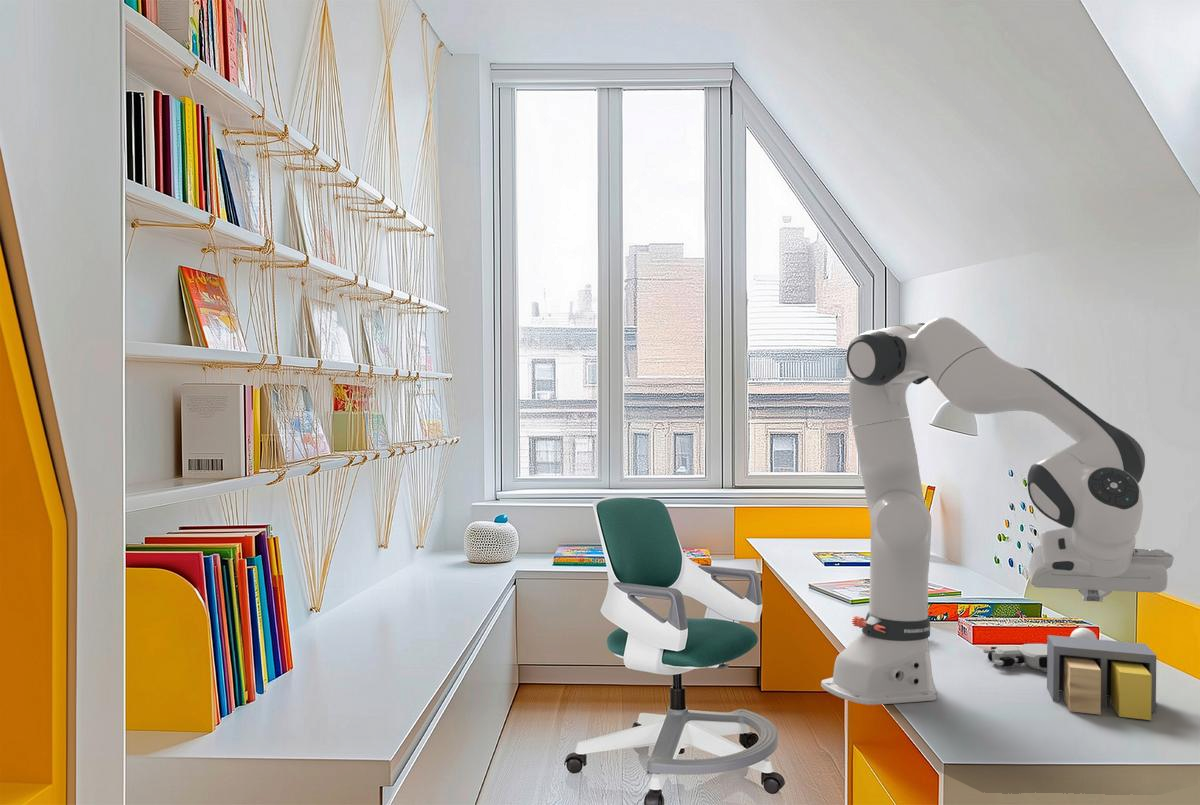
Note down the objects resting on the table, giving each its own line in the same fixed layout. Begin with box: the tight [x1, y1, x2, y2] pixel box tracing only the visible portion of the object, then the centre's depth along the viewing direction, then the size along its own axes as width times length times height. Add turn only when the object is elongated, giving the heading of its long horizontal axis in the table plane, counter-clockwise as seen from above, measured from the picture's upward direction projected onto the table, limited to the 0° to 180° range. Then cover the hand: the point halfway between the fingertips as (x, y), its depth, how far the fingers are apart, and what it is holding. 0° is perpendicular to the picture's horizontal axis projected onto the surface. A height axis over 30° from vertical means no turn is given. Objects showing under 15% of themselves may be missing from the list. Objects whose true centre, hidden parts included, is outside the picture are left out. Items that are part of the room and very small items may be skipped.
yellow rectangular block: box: [1110, 661, 1152, 721], centre depth 166 cm, size 8×5×8 cm, turn 160°
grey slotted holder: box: [1046, 634, 1157, 714], centre depth 173 cm, size 9×17×10 cm, turn 70°
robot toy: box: [982, 643, 1047, 673], centre depth 195 cm, size 12×4×15 cm
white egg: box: [1069, 627, 1098, 639], centre depth 208 cm, size 8×6×6 cm
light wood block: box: [1062, 656, 1102, 715], centre depth 169 cm, size 8×5×8 cm, turn 160°
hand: (1091, 598), depth 155 cm, fingers closed
